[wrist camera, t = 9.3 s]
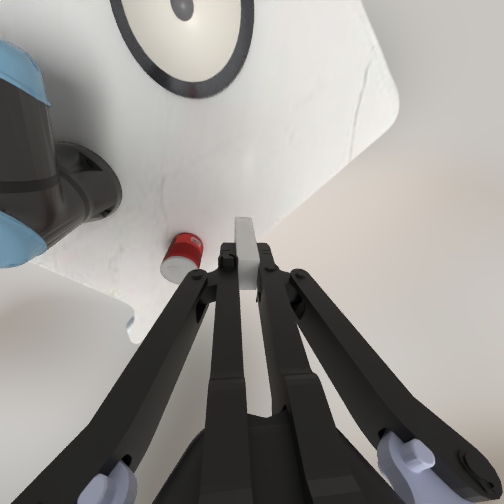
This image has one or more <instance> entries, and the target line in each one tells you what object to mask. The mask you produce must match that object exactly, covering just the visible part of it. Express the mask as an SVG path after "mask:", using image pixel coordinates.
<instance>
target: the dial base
mask: <svg viewBox="0 0 504 504" xmlns="http://www.w3.org/2000/svg"><path fill="white" fill-rule="evenodd" d="M240 2H241V20H240V29H239V35H238V40H237V43H236V46H235V49H234V52H233V54H232V56H231V58H230V60H229V61H228V63H227V65H226V66H225V67H224V68H223V69H222V71H220V72H219V73H218V74H217V75H216V76H214V77H213V78H211V79H208V80H206V81H202V82H194V83H193V82H185V81H182V80H179V79H177V78H174V77H172V76H171V75H169V74H167V73H166V72H164V71H163V70H162V69H161V68H159V67H158V66H157V65H156V64H155V63H154V62H153V61H152V60H151V59H150V58H149V57H148V55H147V54H146V53H145V52H144V50H143V49H142V47H141V46H140V44H139V43H138V41H137V39H136V38H135V36H134V34H133V32H132V30H131V27H130V25H129V23H128V20H127V17H126V15H125V12H124V8H123V4H122V1H121V0H110V3H111V7H112V11H113V14H114V17H115V20H116V23H117V26H118V28H119V30H120V33H121V35H122V37H123V39H124V41H125V43H126V45H127V47H128V48H129V50H130V52H131V53H132V55H133V56H134V58H135V59H136V61H137V62H138V63H139V65H140V66H141V67H142V68H143V70H144V71H145V72H146V73H147V74H148V75H149V76H150V77H151V78H152V79H154V80H155V81H156V82H157V83H158V84H160V85H161V86H163V87H164V88H166V89H167V90H169V91H171V92H173V93H175V94H177V95H180V96H183V97H187V98H195V99H201V98H208V97H211V96H214V95H216V94H218V93H220V92H221V91H223V90H224V89H226V88H227V87H228V86H229V85H230V84H231V83H232V82H233V81H234V79H235V78H236V77H237V75H238V74H239V72H240V70H241V69H242V67H243V64H244V62H245V60H246V57H247V54H248V51H249V47H250V43H251V38H252V33H253V24H254V0H240Z"/></svg>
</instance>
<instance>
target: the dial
mask: <svg viewBox="0 0 504 504" xmlns="http://www.w3.org/2000/svg"><path fill="white" fill-rule="evenodd" d="M121 1H122V4H123V8H124V12H125V15H126V17H127V20H128V23H129V25H130V27H131V30H132V32H133V34H134V36H135V38H136V39H137V41H138V43H139V44H140V46H141V47H142V49H143V50H144V52H145V53H146V54H147V55H148V57H149V58H150V59H151V60H152V61H153V62H154V63H155V64H156V65H157V66H158V67H159V68H161V69H162V70H163V71H164V72H166V73H167V74H169V75H171V76H172V77H174V78H177V79H179V80H182V81H185V82H193V83H194V82H202V81H206V80H208V79H211V78H213V77H214V76H216V75H217V74H218V73H219V72H220V71H222V69H223V68H224V67H225V66H226V65H227V63H228V61H229V60H230V58H231V56H232V54H233V52H234V49H235V46H236V43H237V40H238V35H239V29H240V20H241V2H240V0H121Z"/></svg>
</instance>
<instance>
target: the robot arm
mask: <svg viewBox="0 0 504 504" xmlns="http://www.w3.org/2000/svg"><path fill="white" fill-rule="evenodd" d="M49 107H50V102H49V101H48V100H47V97H46V93H45V88H44V83H43V79H42V74H41V71H40V69H39V67H38V65H37V64H36V63H35V61H34V60H33V59H32V58H31V57H30V56H29V55H28V54H27V53H26V52H25V51H23V50H22V49H20V48H19V47H17V46H15V45H13V44H11V43H9V42H7V41H5V40H3V39H1V38H0V268H11V267H16V266H19V265H22V264H24V263H26V262H28V261H29V260H31V259H33V258H34V257H36V256H38V255H41V254H43V253H44V252H45V251H46V250H47V249H49V248H50V247H51V246H53V245H54V244H55V243H57V242H58V241H59V240H61V239H62V238H63V237H65V236H66V235H67V234H68V233H70V232H71V231H72V230H74V229H75V228H76V227H78V226H79V225H80V224H82V223H86V222H91V221H96V220H100V219H103V218H105V217H107V216H109V215H110V214H111V213H113V212H114V211H115V210H116V209H117V208H118V206H119V205H120V202H121V198H122V191H121V186H120V183H119V180H118V178H117V176H116V175H115V173H114V171H113V170H112V169H111V168H110V166H109V165H108V164H107V163H106V162H105V161H104V160H103V159H102V158H100V157H99V156H98V155H97V154H95V153H94V152H92V151H90V150H89V149H87V148H85V147H82V146H80V145H77V144H73V143H68V142H57V143H54V137H53V131H52V125H51V119H50V113H49ZM256 288H257V289H258V290H257V298H256V302H258V305H259V313H260V319H261V326H262V334H263V341H264V348H265V355H266V362H267V368H268V376H269V383H270V389H271V397H272V416H271V417H268V418H264V417H260V416H256V415H251V414H247V402H246V386H245V378H244V370H243V351H242V332H241V315H240V297H239V296H240V295H239V290H256ZM215 301H216V308H215V321H214V333H213V347H212V361H211V373H210V380H209V385H208V397H207V410H206V421H205V428H204V429H203V430H202V431H201V432H200V433H199V434H198V435H197V436H196V437H195V438H194V439H193V440H192V442H191V443H190V445H189V446H188V448H187V449H186V451H185V452H184V454H183V455H182V457H181V459H180V460H179V462H178V463H177V465H176V467H175V468H174V470H173V471H172V473H171V474H170V476H169V477H168V479H167V481H166V482H165V484H164V485H163V487H162V488H161V490H160V492H159V493H158V495H157V496H156V498H155V500H154V501H153V503H152V504H475V503H477V502H481V501H489V500H495V499H500V497H501V495H502V493H503V491H502V485H501V481H500V479H499V477H498V475H497V473H496V471H495V469H494V468H493V467H492V466H491V464H490V463H489V461H488V460H487V459H486V458H485V457H484V456H483V455H482V454H481V453H480V452H479V451H478V450H477V449H476V448H475V447H474V446H473V445H471V444H470V443H469V442H468V441H466V440H465V439H464V438H463V437H462V436H460V435H459V434H458V433H457V432H456V431H454V430H453V429H452V428H451V427H450V426H448V425H447V424H446V423H445V422H444V421H442V420H441V419H440V418H439V417H437V416H436V415H435V414H434V413H433V412H431V411H430V410H429V409H428V408H427V407H425V406H424V405H423V404H422V403H420V402H419V401H418V400H417V399H416V398H414V397H413V396H412V394H411V393H410V392H409V391H408V390H407V389H406V387H405V386H404V385H403V384H402V383H401V381H400V380H399V379H398V378H397V377H396V376H395V374H394V373H393V372H392V371H391V370H390V369H389V368H388V366H387V365H386V364H385V363H384V361H383V360H382V359H381V358H380V357H379V356H378V354H377V353H376V352H375V351H374V350H373V349H372V347H371V346H370V345H369V344H368V343H367V341H366V340H365V339H364V338H363V337H362V336H361V334H360V333H359V332H358V331H357V330H356V329H355V327H354V326H353V325H352V324H351V323H350V321H349V320H348V319H347V318H346V317H345V316H344V314H343V313H342V312H341V311H340V310H339V309H338V307H337V306H336V305H335V304H334V303H333V301H332V300H331V299H330V298H329V297H328V296H327V294H326V293H325V292H324V291H323V290H322V289H321V288H320V286H319V285H318V284H317V283H316V281H315V280H314V279H313V278H312V277H311V276H310V274H309V273H308V272H306V271H305V270H303V269H293V270H292V271H291V273H288V272H284V271H281V270H279V267H278V266H277V265H276V264H275V263H274V259H273V256H272V253H271V249H270V247H269V245H268V244H267V243H256V238H255V233H254V228H253V223H252V218H247V217H235V241H234V243H223V244H222V245H221V249H220V256H219V258H218V269H216V270H215V271H213V272H209V273H207V272H206V271H205V270H202V269H194V270H192V271H190V272H188V273H187V275H186V276H185V278H184V279H183V281H182V282H181V284H180V285H179V287H178V289H177V290H176V292H175V293H174V295H173V296H172V298H171V299H170V301H169V302H168V304H167V305H166V307H165V308H164V310H163V311H162V313H161V314H160V316H159V318H158V319H157V321H156V322H155V324H154V325H153V327H152V328H151V330H150V331H149V333H148V334H147V336H146V337H145V339H144V340H143V342H142V344H141V345H140V347H139V348H138V350H137V351H136V353H135V354H134V356H133V357H132V359H131V360H130V362H129V364H128V365H127V366H126V368H125V370H124V371H123V373H122V374H121V376H120V377H119V379H118V380H117V382H116V383H115V385H114V386H113V388H112V389H111V391H110V392H109V394H108V396H107V397H106V399H105V400H104V402H103V403H102V405H101V406H100V408H99V409H98V411H97V412H96V414H95V415H94V417H93V418H92V420H91V421H90V423H89V424H88V425H87V427H85V429H84V430H82V431H81V432H80V434H79V435H78V436H77V437H76V438H75V439H74V440H73V441H72V442H71V443H70V444H69V445H68V446H67V447H66V448H65V449H64V450H63V451H62V452H61V453H60V454H59V455H58V456H57V457H56V458H55V459H54V460H53V461H52V462H51V463H50V464H49V465H48V466H47V467H46V468H45V469H44V470H43V471H42V472H41V473H40V474H39V475H38V476H37V478H36V479H35V480H34V481H33V482H32V483H31V484H30V485H29V486H28V487H27V488H26V489H25V490H24V491H23V492H22V493H21V494H20V495H19V496H18V497H17V498H16V499H15V500H14V501H13V502H12V503H11V504H134V502H135V498H136V494H137V480H136V477H135V475H134V472H135V471H136V469H137V467H138V465H139V463H140V462H141V460H142V458H143V456H144V455H145V453H146V451H147V449H148V447H149V444H150V442H151V440H152V438H153V436H154V434H155V431H156V429H157V427H158V424H159V422H160V420H161V417H162V415H163V412H164V410H165V408H166V405H167V403H168V401H169V398H170V395H171V394H172V391H173V389H174V386H175V384H176V382H177V380H178V377H179V375H180V372H181V370H182V368H183V365H184V363H185V361H186V358H187V356H188V354H189V351H190V349H191V346H192V344H193V342H194V339H195V337H196V335H197V332H198V330H199V327H200V325H201V323H202V320H203V318H204V316H205V313H206V311H207V309H208V306H209V303H211V302H215ZM296 323H297V324H296ZM297 325H298V326H299V328H300V330H301V331H302V333H303V335H304V336H305V338H306V340H307V341H308V343H309V345H310V346H311V348H312V350H313V351H314V353H315V355H316V357H317V358H318V360H319V362H320V363H321V365H322V367H323V368H324V370H325V372H326V373H327V375H328V377H329V378H330V380H331V382H332V383H333V385H334V387H335V389H336V390H337V392H338V393H339V395H340V397H341V398H342V400H343V402H344V403H345V405H346V407H347V409H348V410H349V412H350V414H351V415H352V417H353V419H354V420H355V422H356V423H357V425H358V426H359V428H360V429H361V431H362V432H363V434H364V435H365V436H366V437H367V439H368V440H369V442H370V443H371V444H372V445H373V447H374V448H375V449H376V450H377V457H378V467H379V469H380V471H381V473H382V474H383V476H384V477H385V478H387V479H388V480H389V481H390V483H391V485H392V486H393V489H394V490H393V489H392V488H391V487H390V486H389V484H388V483H386V481H385V480H384V479H383V478H382V477H381V476H380V475H379V474H378V472H377V471H376V470H375V469H374V468H373V467H372V466H371V465H370V464H369V463H368V461H367V460H366V459H365V458H364V457H363V456H362V455H361V454H360V453H359V452H358V450H357V449H356V448H355V447H354V446H353V445H352V444H351V443H350V442H349V441H348V439H347V438H346V437H345V436H344V435H343V434H342V433H341V432H340V431H339V430H338V429H337V428H336V426H335V423H334V420H333V417H332V414H331V411H330V408H329V405H328V402H327V399H326V396H325V393H324V390H323V387H322V385H321V382H320V379H319V377H318V376H317V374H315V373H313V372H312V370H311V368H310V365H309V362H308V359H307V355H306V352H305V349H304V346H303V343H302V340H301V336H300V333H299V330H298V327H297Z"/></svg>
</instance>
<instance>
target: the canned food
mask: <svg viewBox="0 0 504 504" xmlns="http://www.w3.org/2000/svg"><path fill="white" fill-rule="evenodd" d="M202 252H203V245H202V242H201V240H200V239H199V238H198V237H196V236H195V235H192V234H189V233H183V234H180V235H178V236H176V237H175V238H174V239H173V241H172V243H171V245H170V247H169V249H168V251H167V253H166V255H165V257H164V259H163V262H162V264H161V268H160V270H161V274H162V275H163V277H164V278H165V279H167V280H168V281H170V282H172V283H175V284H181V282H182V281H183V279H184V278H185V276H186V275H187V273H188V272H190V271H192V270H194V269H199V267H200V262H201V257H202Z"/></svg>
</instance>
